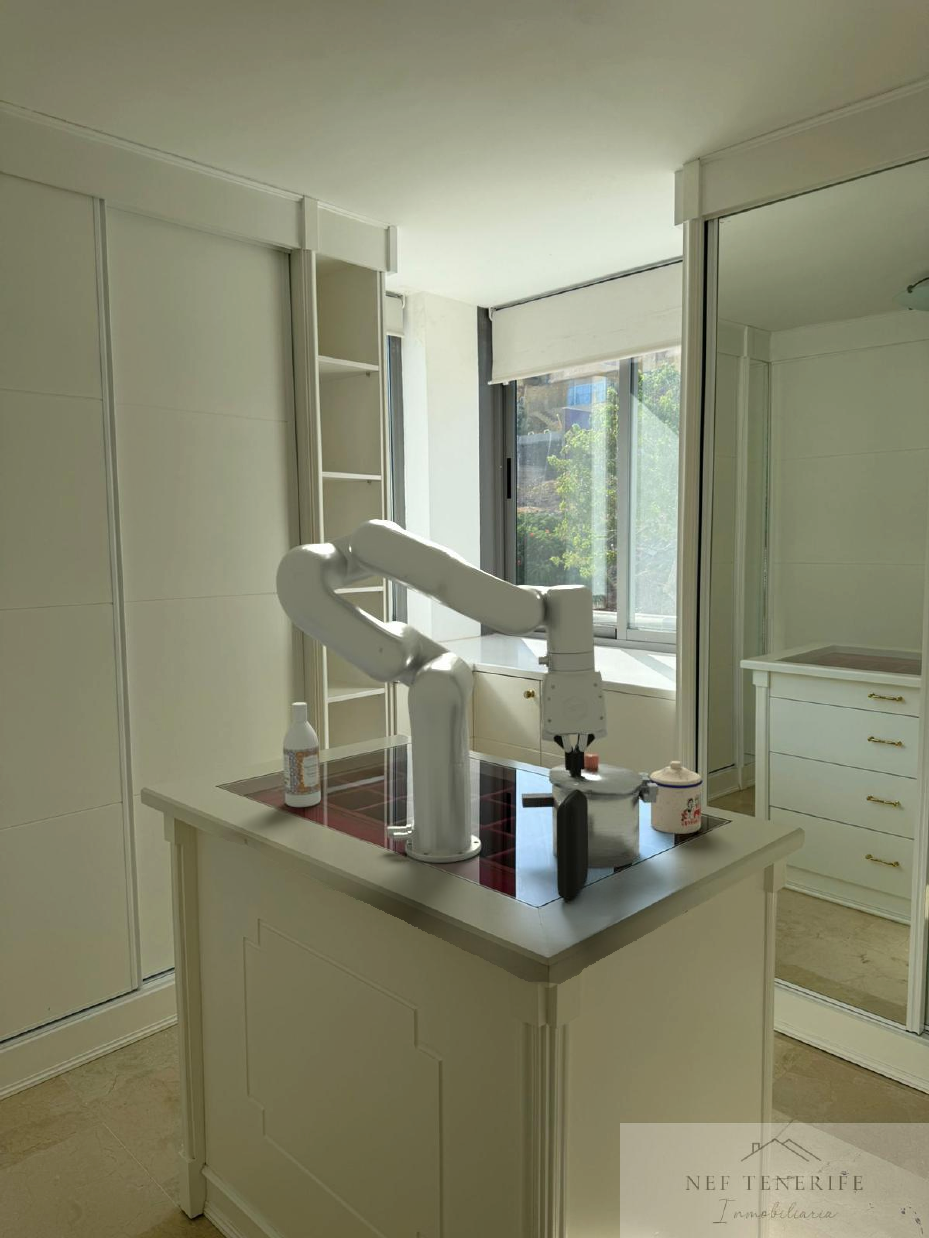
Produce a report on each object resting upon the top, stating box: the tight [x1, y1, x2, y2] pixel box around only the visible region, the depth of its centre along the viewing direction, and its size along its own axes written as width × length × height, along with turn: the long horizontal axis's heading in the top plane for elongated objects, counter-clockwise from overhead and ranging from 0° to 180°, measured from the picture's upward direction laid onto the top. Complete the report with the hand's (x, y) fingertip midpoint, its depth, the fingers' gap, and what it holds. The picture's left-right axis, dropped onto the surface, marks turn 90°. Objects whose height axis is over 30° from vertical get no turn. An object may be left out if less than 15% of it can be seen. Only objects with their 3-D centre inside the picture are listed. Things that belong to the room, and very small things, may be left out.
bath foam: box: [282, 701, 322, 808], centre depth 176 cm, size 7×7×20 cm
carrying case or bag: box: [556, 789, 589, 904], centre depth 129 cm, size 11×3×15 cm, turn 160°
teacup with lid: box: [649, 760, 703, 835], centre depth 158 cm, size 12×9×12 cm
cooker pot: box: [521, 772, 658, 869], centre depth 145 cm, size 21×14×12 cm, turn 91°
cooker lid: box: [548, 753, 651, 796], centre depth 145 cm, size 16×15×3 cm
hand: (575, 773), depth 144 cm, fingers closed
